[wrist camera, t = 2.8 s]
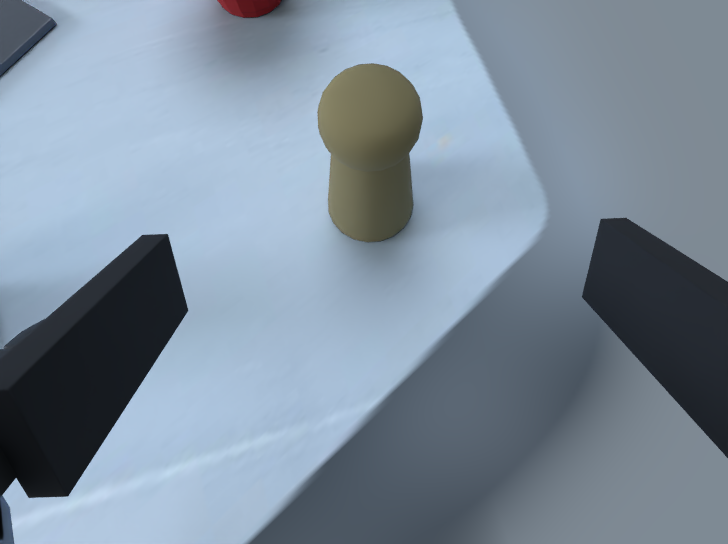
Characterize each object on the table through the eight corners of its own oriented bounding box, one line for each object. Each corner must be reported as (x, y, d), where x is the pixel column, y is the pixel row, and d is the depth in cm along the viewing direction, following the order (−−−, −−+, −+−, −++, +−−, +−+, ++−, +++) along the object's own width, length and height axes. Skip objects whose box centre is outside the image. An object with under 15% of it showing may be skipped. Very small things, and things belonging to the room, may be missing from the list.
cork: (411, 245, 29) (433, 155, 18) (323, 239, 29) (296, 147, 19) (415, 167, 31) (437, 45, 20) (332, 162, 31) (311, 38, 20)
